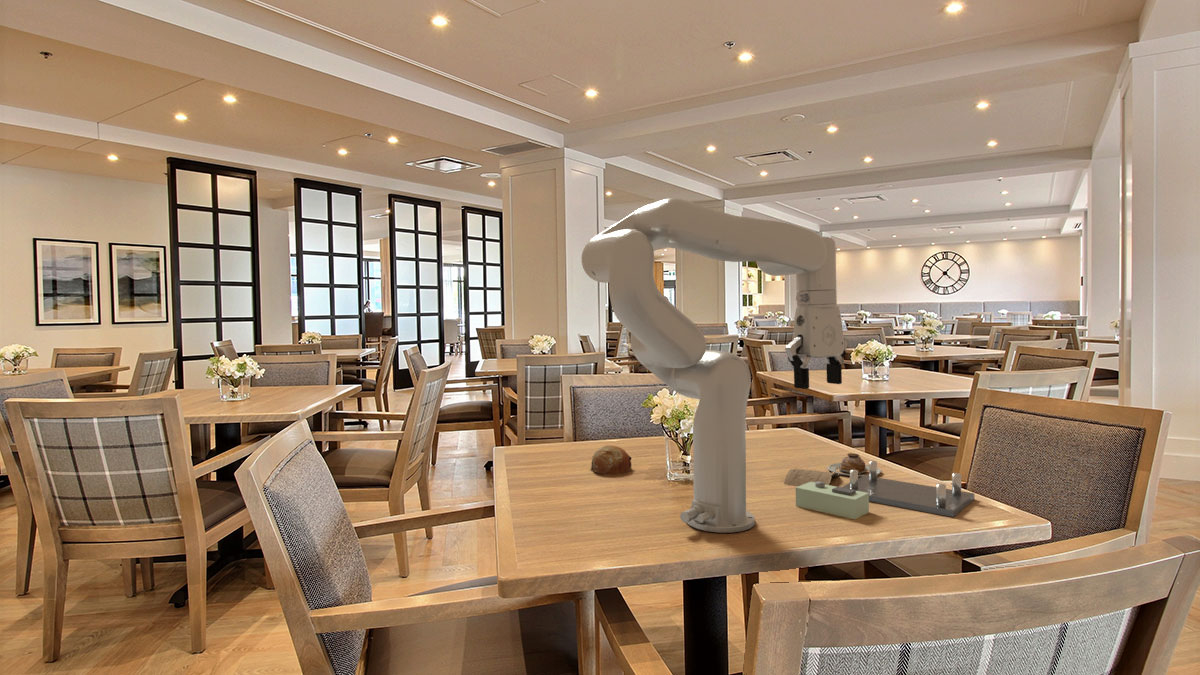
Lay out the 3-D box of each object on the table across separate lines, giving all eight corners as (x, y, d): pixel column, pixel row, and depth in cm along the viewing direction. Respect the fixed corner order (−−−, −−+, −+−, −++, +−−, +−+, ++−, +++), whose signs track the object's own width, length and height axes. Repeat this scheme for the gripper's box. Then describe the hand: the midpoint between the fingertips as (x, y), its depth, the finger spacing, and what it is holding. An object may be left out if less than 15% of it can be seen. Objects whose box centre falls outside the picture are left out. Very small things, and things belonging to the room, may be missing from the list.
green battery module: (854, 520, 117) (854, 495, 116) (795, 507, 125) (795, 483, 125) (868, 513, 121) (868, 488, 121) (810, 500, 129) (810, 477, 129)
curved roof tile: (828, 494, 135) (828, 481, 135) (781, 488, 140) (780, 476, 140) (841, 478, 147) (840, 467, 147) (797, 473, 152) (797, 462, 152)
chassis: (953, 517, 117) (953, 489, 117) (836, 495, 132) (836, 470, 132) (974, 499, 128) (974, 473, 127) (864, 480, 143) (864, 457, 143)
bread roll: (593, 480, 161) (580, 453, 159) (627, 460, 163) (614, 433, 162) (605, 490, 151) (591, 462, 150) (641, 469, 154) (627, 440, 152)
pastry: (852, 465, 159) (852, 447, 159) (892, 476, 148) (892, 456, 148) (816, 471, 154) (816, 452, 154) (855, 482, 143) (855, 462, 143)
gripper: (801, 300, 117) (803, 392, 118) (860, 298, 126) (862, 383, 127) (771, 301, 123) (773, 388, 124) (829, 299, 132) (831, 380, 133)
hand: (818, 385), depth 126 cm, fingers open, 9 cm apart
